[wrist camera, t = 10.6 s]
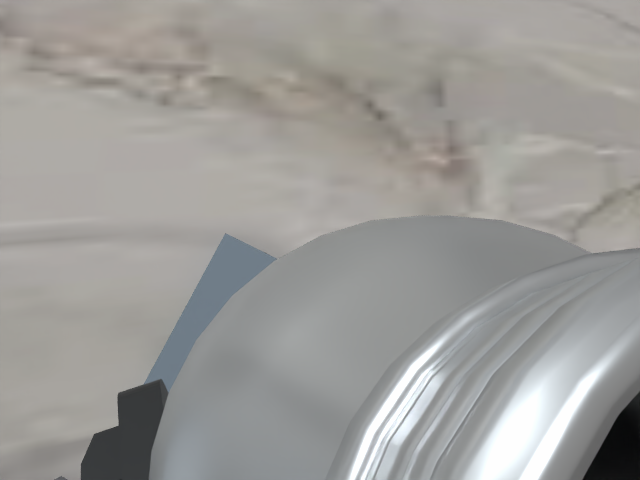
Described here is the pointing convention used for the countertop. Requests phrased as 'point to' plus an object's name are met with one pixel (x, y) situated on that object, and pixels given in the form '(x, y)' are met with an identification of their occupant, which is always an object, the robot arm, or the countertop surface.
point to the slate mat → (208, 302)
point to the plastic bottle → (416, 362)
